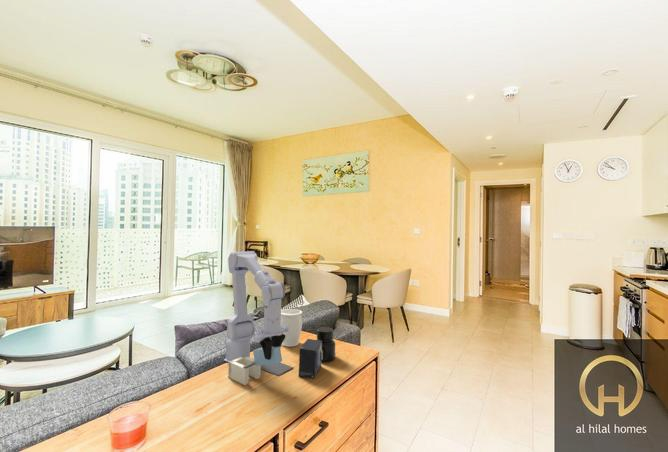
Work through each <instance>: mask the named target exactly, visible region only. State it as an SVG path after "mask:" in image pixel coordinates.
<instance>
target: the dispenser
mask: <svg viewBox="0 0 668 452" xmlns="http://www.w3.org/2000/svg"><path fill="white" fill-rule="evenodd" d="M252 358H253V357H251V358H249V357H247V356H242V357H239V358H237V359H234V360H232V361H230V362H228V370H227V371H228V375H227V377H228V378H229V379H231V380H233V381H235V382H237V383H240V384H242V385H244V386H246V385H248V384H249V377H253V379H254V378H255V379H256V380H257V379H260V378H261V377H262V376H261V372H262V371H261V370H262V369H261V365H255V360H254V359H252Z"/></svg>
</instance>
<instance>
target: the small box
mask: <svg viewBox="0 0 668 452" xmlns="http://www.w3.org/2000/svg"><path fill="white" fill-rule="evenodd" d="M321 357H322V341H320V340H317V339H312V338H307V339H306V340H305V341H304V342H303V344H302V345H301V346H300V347H299V359H298V361H299V362H298V377H301V378H307V379H308V378H309V379H315V378H316V376H317V374H318V373H319V371H320V369H321V368H322V362H321Z"/></svg>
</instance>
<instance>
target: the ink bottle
mask: <svg viewBox="0 0 668 452" xmlns="http://www.w3.org/2000/svg"><path fill="white" fill-rule="evenodd" d="M316 338H317V339H316V340H320V341H322V357H321V363H328V362H332V361H334V360H335V358H336V342H335V340H334V329H333V327H329V326H321V327H317V328H316Z"/></svg>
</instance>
